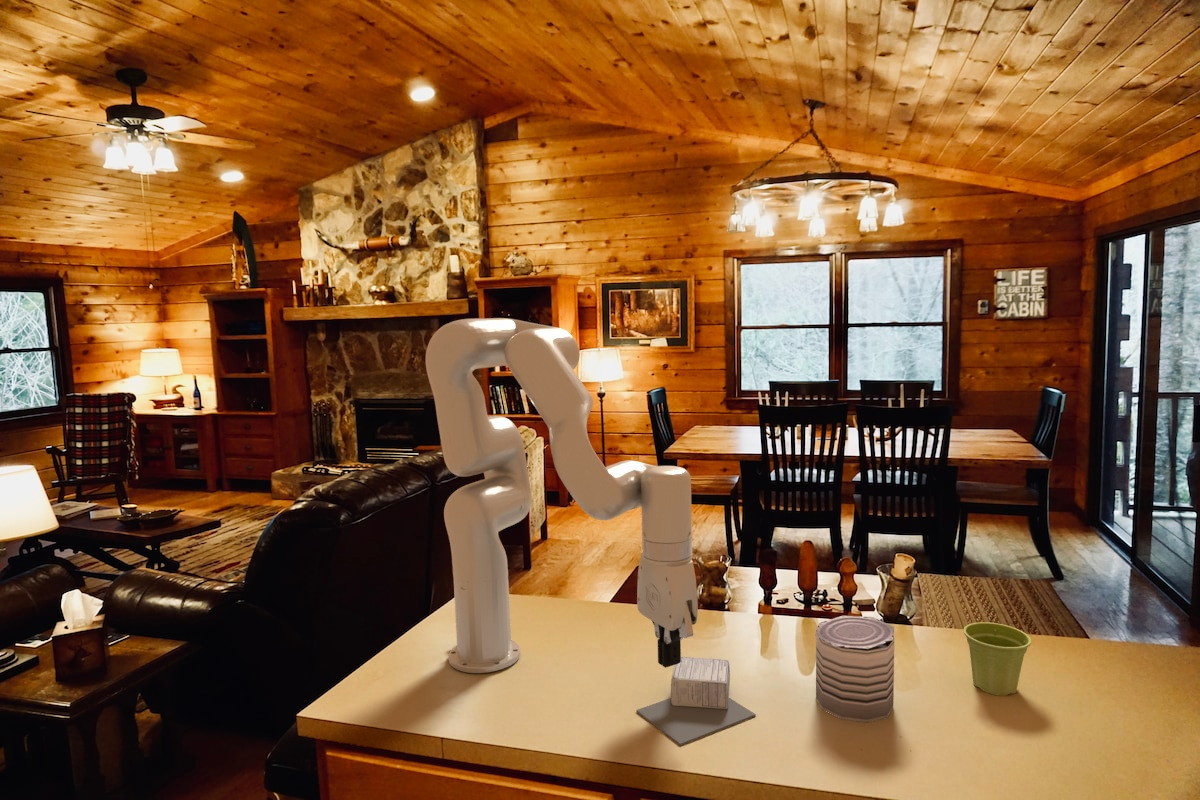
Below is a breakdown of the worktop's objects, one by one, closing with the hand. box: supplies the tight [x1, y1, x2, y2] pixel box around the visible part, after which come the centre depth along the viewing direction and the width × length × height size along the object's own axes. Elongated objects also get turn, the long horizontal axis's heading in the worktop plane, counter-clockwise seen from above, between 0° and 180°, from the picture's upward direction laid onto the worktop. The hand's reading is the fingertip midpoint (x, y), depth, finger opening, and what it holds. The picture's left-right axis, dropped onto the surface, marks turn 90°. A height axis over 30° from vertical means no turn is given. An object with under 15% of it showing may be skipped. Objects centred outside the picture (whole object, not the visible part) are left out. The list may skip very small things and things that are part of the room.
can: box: [815, 615, 895, 724], centre depth 116 cm, size 11×11×12 cm
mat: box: [636, 697, 757, 747], centre depth 114 cm, size 11×14×1 cm
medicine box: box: [670, 656, 731, 709], centre depth 119 cm, size 8×4×9 cm
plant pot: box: [963, 621, 1032, 697], centre depth 119 cm, size 9×9×9 cm
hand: (669, 663), depth 117 cm, fingers closed
